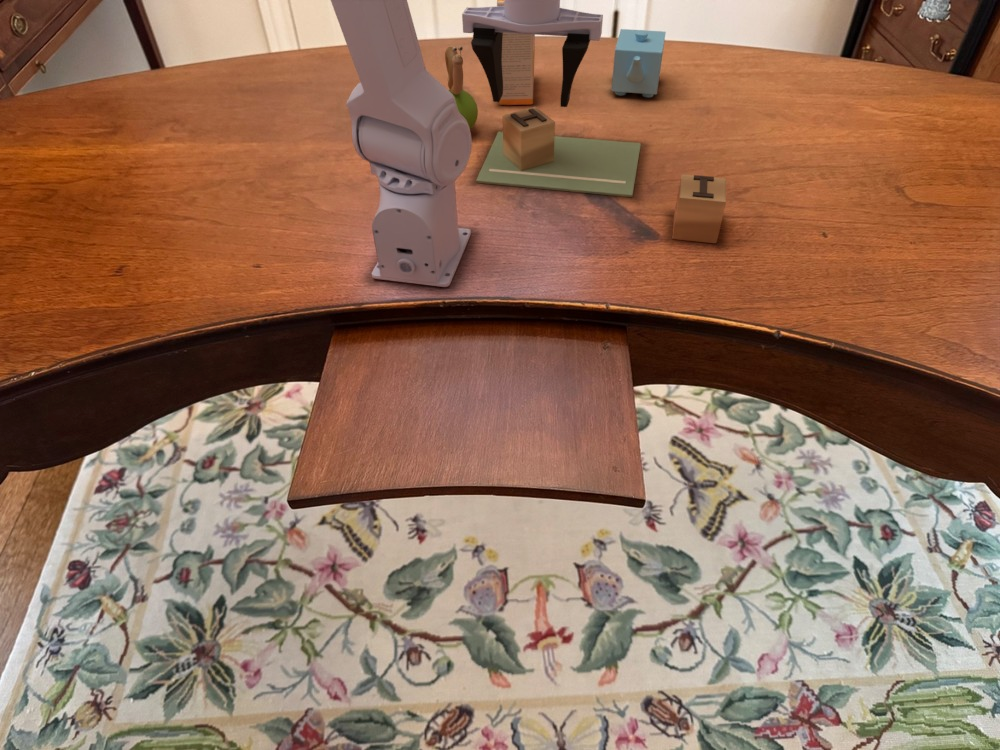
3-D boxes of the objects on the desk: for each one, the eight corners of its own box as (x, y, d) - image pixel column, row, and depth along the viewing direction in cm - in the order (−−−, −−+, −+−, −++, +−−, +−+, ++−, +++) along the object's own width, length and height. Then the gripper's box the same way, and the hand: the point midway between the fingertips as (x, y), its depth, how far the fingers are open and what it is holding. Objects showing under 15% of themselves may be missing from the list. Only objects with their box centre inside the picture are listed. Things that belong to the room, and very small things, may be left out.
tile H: (554, 161, 85) (555, 119, 81) (521, 171, 84) (521, 129, 80) (535, 145, 88) (535, 104, 84) (503, 154, 87) (502, 113, 83)
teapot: (654, 112, 94) (662, 54, 88) (607, 109, 95) (612, 51, 89) (659, 74, 102) (667, 18, 97) (617, 71, 103) (622, 16, 98)
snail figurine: (443, 149, 88) (434, 50, 80) (432, 125, 93) (423, 29, 84) (485, 142, 89) (481, 44, 81) (473, 119, 94) (467, 23, 85)
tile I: (716, 243, 73) (726, 199, 70) (672, 239, 74) (679, 195, 70) (716, 219, 76) (726, 176, 73) (674, 215, 77) (681, 172, 73)
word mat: (632, 197, 80) (632, 194, 80) (476, 182, 83) (476, 180, 83) (640, 145, 88) (641, 142, 88) (498, 133, 91) (498, 131, 91)
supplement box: (534, 105, 96) (535, 1, 87) (498, 106, 96) (496, 2, 87) (533, 79, 102) (534, -22, 92) (500, 79, 102) (497, -21, 93)
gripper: (610, -43, 72) (599, 89, 82) (471, -48, 74) (477, 80, 84) (601, -20, 67) (591, 117, 77) (453, -27, 70) (462, 107, 79)
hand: (531, 100), depth 80 cm, fingers open, 7 cm apart
